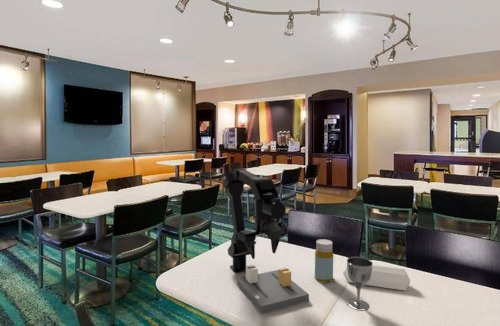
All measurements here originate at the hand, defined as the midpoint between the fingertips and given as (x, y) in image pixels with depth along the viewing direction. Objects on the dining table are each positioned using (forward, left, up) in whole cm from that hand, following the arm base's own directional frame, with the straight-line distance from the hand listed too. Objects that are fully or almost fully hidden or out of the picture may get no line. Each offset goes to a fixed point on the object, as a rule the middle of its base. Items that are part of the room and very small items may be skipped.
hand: (263, 255), depth 113 cm
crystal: (+13, +42, -14) cm, 46 cm away
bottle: (+2, +26, -13) cm, 29 cm away
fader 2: (+4, +7, -10) cm, 13 cm away
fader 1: (-3, -3, -10) cm, 11 cm away
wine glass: (+22, +25, -13) cm, 35 cm away
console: (+3, +2, -13) cm, 13 cm away
